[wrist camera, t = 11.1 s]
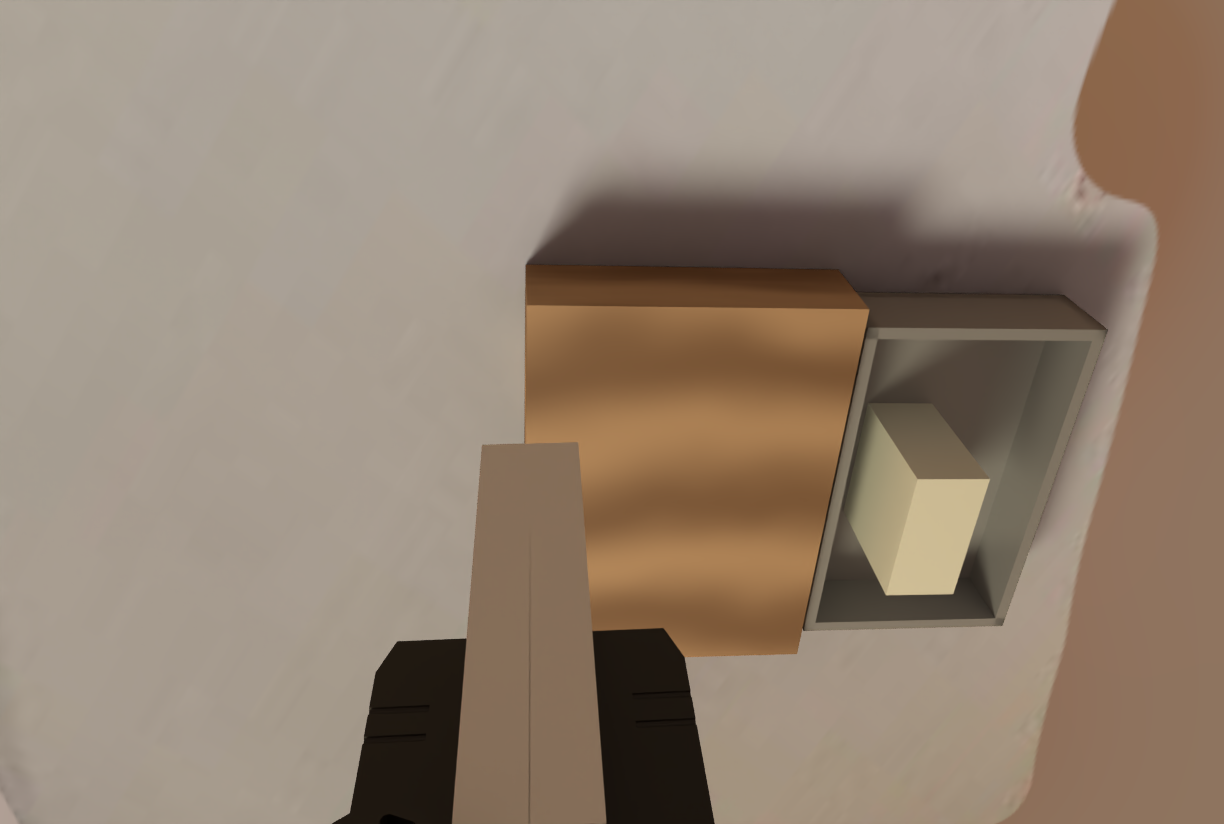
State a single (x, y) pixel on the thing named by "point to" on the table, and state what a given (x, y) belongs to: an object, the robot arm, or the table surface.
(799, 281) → the board
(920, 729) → the table surface
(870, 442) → the block
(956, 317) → the tray
